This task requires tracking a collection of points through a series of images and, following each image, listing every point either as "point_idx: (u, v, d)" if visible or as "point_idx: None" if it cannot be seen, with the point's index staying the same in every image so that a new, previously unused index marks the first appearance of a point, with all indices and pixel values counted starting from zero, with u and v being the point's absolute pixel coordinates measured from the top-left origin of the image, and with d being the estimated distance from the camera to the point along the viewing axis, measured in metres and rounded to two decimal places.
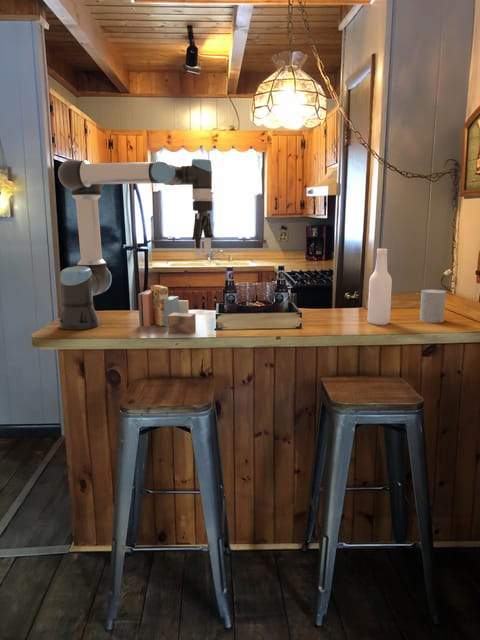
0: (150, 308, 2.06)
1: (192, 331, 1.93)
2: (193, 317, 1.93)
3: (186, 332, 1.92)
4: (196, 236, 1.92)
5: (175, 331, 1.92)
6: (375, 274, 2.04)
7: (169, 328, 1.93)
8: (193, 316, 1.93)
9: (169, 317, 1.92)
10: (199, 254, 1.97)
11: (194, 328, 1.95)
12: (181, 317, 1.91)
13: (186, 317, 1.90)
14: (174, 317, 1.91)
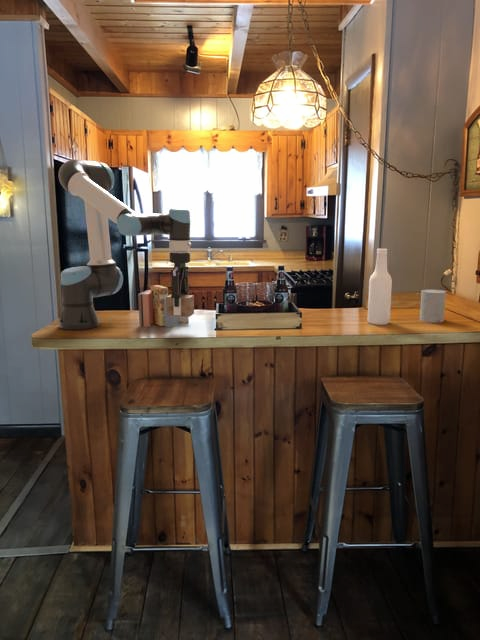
0: (150, 308, 2.06)
1: (190, 313, 1.92)
2: (192, 299, 1.92)
3: (184, 314, 1.91)
4: (174, 295, 1.86)
5: (173, 313, 1.91)
6: (375, 274, 2.04)
7: (167, 309, 1.91)
8: (192, 298, 1.92)
9: (167, 298, 1.91)
10: (178, 312, 1.90)
11: (192, 310, 1.94)
12: None
13: (185, 299, 1.89)
14: (172, 298, 1.90)
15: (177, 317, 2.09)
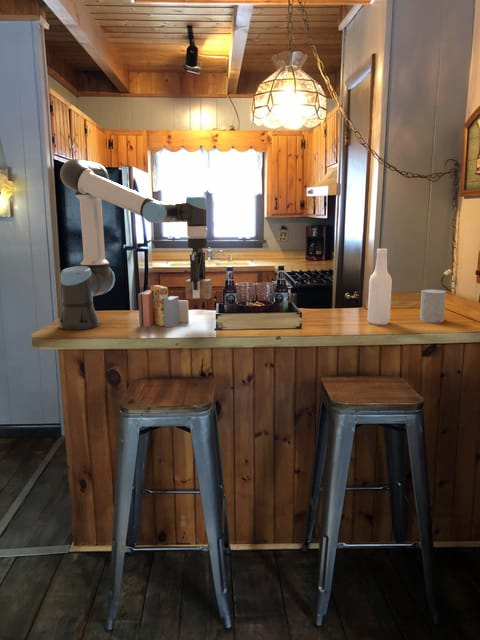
0: (150, 308, 2.06)
1: (209, 296, 2.01)
2: (210, 282, 2.01)
3: (203, 296, 1.99)
4: (194, 279, 1.95)
5: None
6: (375, 274, 2.04)
7: (187, 293, 2.01)
8: (210, 281, 2.01)
9: (187, 282, 2.00)
10: (197, 295, 1.99)
11: (210, 293, 2.03)
12: None
13: (203, 282, 1.98)
14: (191, 282, 1.99)
15: (177, 317, 2.09)
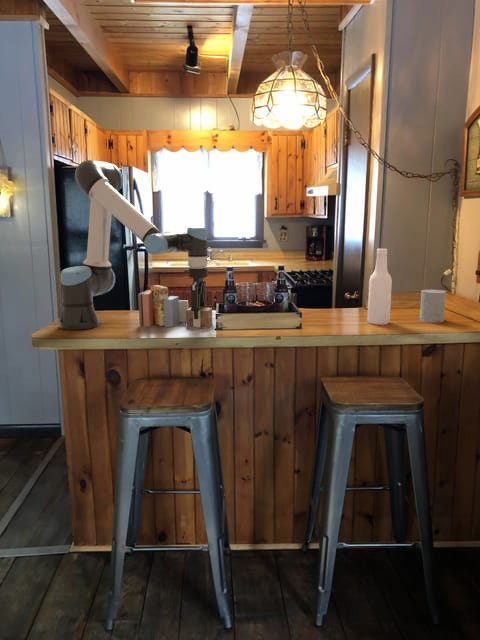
0: (150, 308, 2.06)
1: (209, 325, 2.03)
2: (210, 311, 2.04)
3: (203, 325, 2.02)
4: (194, 308, 1.97)
5: None
6: (375, 274, 2.04)
7: (187, 322, 2.03)
8: (210, 310, 2.04)
9: (187, 311, 2.02)
10: (197, 324, 2.01)
11: (211, 322, 2.05)
12: None
13: (204, 311, 2.01)
14: (192, 311, 2.02)
15: (177, 317, 2.09)
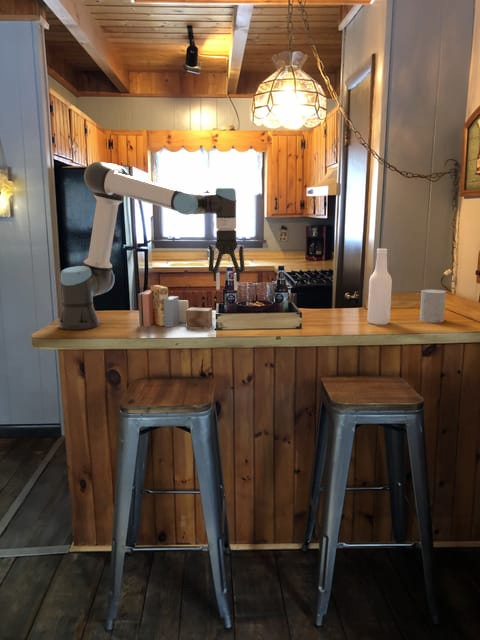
0: (150, 308, 2.06)
1: (209, 325, 2.03)
2: (210, 312, 2.04)
3: (203, 326, 2.02)
4: None
5: (193, 325, 2.03)
6: (375, 274, 2.04)
7: (187, 322, 2.03)
8: (210, 311, 2.04)
9: (187, 311, 2.02)
10: None
11: (211, 322, 2.05)
12: (199, 311, 2.01)
13: (204, 311, 2.01)
14: (192, 311, 2.02)
15: (177, 317, 2.09)
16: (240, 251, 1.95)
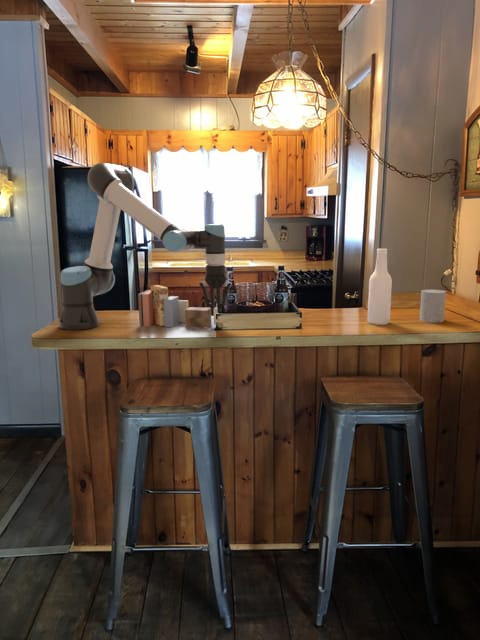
0: (150, 308, 2.06)
1: (208, 324, 2.03)
2: (209, 311, 2.04)
3: (203, 325, 2.02)
4: None
5: (192, 325, 2.03)
6: (375, 274, 2.04)
7: (186, 322, 2.03)
8: (209, 310, 2.04)
9: (186, 311, 2.02)
10: None
11: (210, 322, 2.05)
12: (198, 311, 2.01)
13: (203, 311, 2.01)
14: (191, 311, 2.02)
15: (177, 317, 2.09)
16: (227, 287, 1.99)
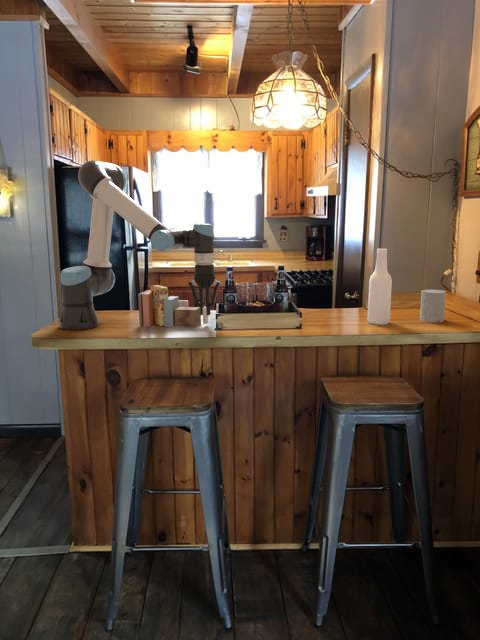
0: (150, 308, 2.06)
1: (198, 324, 2.04)
2: (198, 311, 2.05)
3: (192, 325, 2.03)
4: None
5: (182, 324, 2.04)
6: (375, 274, 2.04)
7: (176, 321, 2.04)
8: (198, 310, 2.05)
9: (176, 311, 2.03)
10: None
11: (199, 321, 2.06)
12: (187, 311, 2.02)
13: (192, 311, 2.02)
14: (180, 311, 2.02)
15: None
16: (216, 287, 2.00)
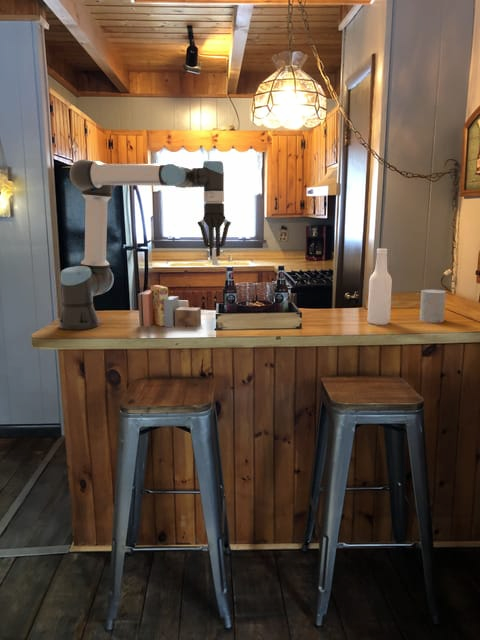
0: (150, 308, 2.06)
1: (198, 324, 2.04)
2: (198, 311, 2.05)
3: (192, 325, 2.03)
4: None
5: (182, 325, 2.04)
6: (375, 274, 2.04)
7: (176, 322, 2.04)
8: (198, 310, 2.05)
9: (176, 311, 2.03)
10: None
11: (199, 322, 2.06)
12: (187, 311, 2.02)
13: (192, 311, 2.02)
14: (181, 311, 2.03)
15: None
16: (225, 226, 1.95)
